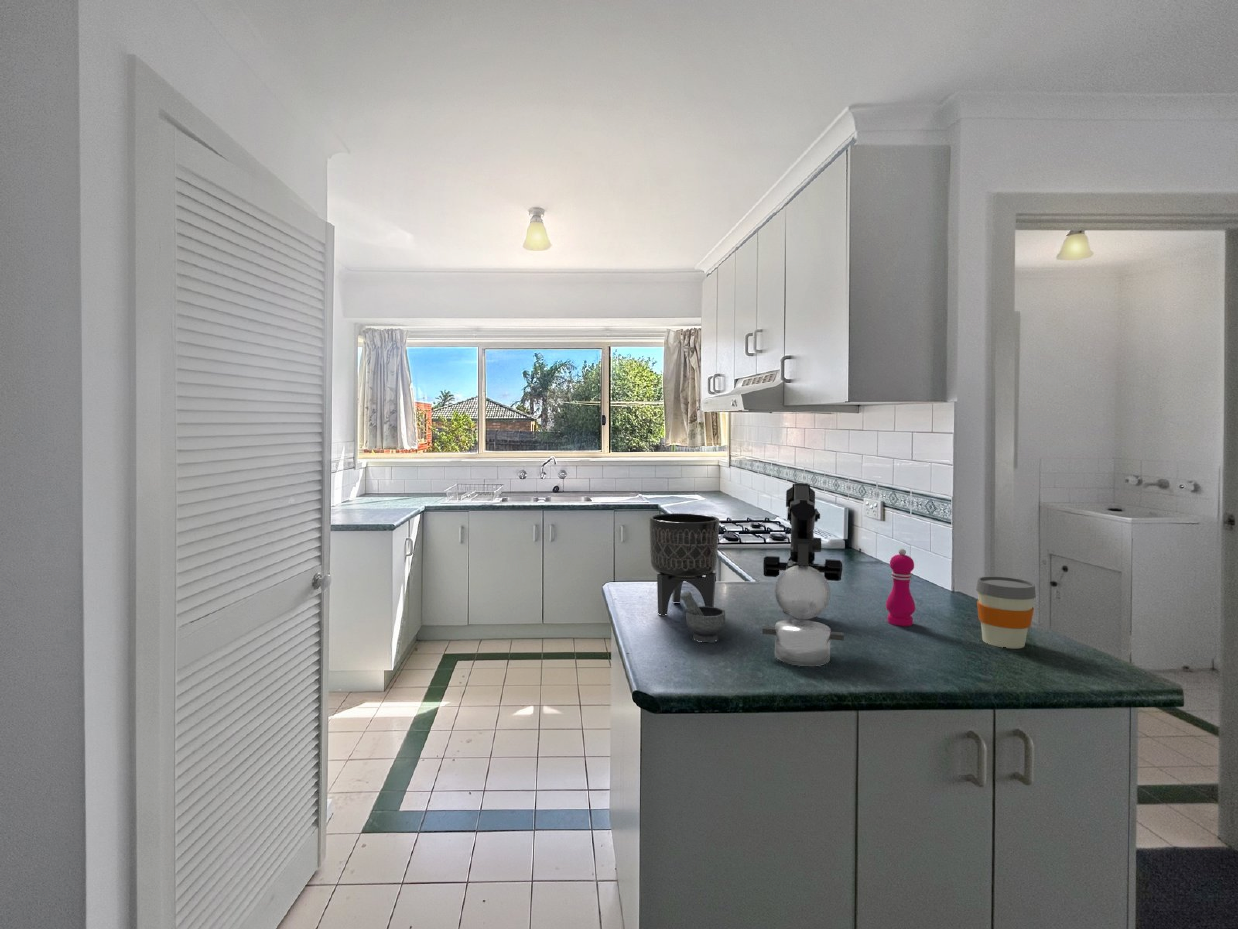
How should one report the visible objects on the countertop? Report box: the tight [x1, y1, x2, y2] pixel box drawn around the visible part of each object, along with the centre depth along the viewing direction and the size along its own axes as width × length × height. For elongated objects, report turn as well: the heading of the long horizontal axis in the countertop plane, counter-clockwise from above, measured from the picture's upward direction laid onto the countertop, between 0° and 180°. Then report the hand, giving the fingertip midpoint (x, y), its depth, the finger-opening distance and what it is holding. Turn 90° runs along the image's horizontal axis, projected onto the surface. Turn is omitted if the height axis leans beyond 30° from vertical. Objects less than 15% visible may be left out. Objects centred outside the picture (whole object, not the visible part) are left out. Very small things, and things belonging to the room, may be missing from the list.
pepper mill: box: [885, 548, 916, 627], centre depth 178 cm, size 7×7×20 cm
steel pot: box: [761, 618, 845, 666], centre depth 150 cm, size 12×18×7 cm
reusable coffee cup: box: [975, 575, 1037, 649], centre depth 162 cm, size 13×13×15 cm
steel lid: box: [774, 544, 831, 620], centre depth 159 cm, size 18×13×1 cm
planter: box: [648, 512, 720, 615], centre depth 187 cm, size 20×20×26 cm
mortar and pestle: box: [680, 590, 726, 643], centre depth 162 cm, size 11×9×12 cm
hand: (801, 597), depth 160 cm, fingers closed
